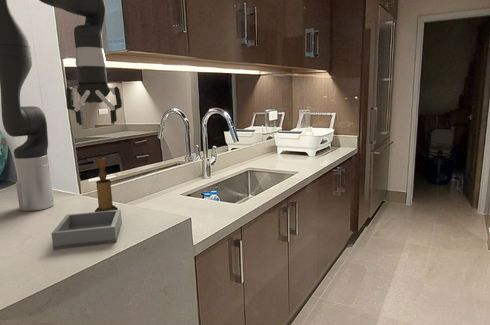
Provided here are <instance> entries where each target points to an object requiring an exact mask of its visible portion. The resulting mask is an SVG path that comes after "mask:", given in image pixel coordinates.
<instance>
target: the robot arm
mask: <svg viewBox="0 0 490 325" xmlns="http://www.w3.org/2000/svg"><path fill="white" fill-rule="evenodd" d="M38 1H40V2H41V3H43V4H46V5H47V6H50V7H54V8H56V9H60V10H63V11H65V12H68V13H70V14H73V15H77V16H81V17H84V18H85V21H84V24H78V25H76V26H75V27H74V29H73V38H74V46H75V66H76V74H77V82H78V86H77V87H76V88H75V87H70V86H68V87H66V90H65V91H66V92H65V94H66V95H65V96H66V108H67V109H68V110H71V111H74V114H75V122H76V123H77V124H78V126H84V119H83V118H84V117H83V111H82V110H83V109H84V108H83V107H84V106H85V105H86V103H89V104H93V103H97V104H98V103H100V104H101V103H103V104H105V105H106V106H107V107H108V108H109V109H110V110H109V113H110V124H111V125H114V124H116V122H118V118H117V110H119V109H122V108H123V102H122V95H121V88H120V87H119V86H115V87H109V85H108V76H107V65H106V55H105V52H104V44H103V29H104V23H105V17H106V12H107V11H106V3H105V0H38ZM32 67H33V59H32V51H31V44H30V40H29V37H28V36H27V35H26V33H25V32H24V30H23V28H22V27H21V25H20V24H19V22H17V20H16V19H15V17H14V15H13V13H12V12H11V8H10V6H9V2H8V0H0V107H1V121H2V125H3V129H4V131H5V132H6V134H7V135H8V136H10V137H15V138H16V137H26V136H27V137H26V140H25V142H24V143H22V144H21V145H19V146H17V147H15V149H14V150H13V155H14V161H15V169H16V175H17V181H16V182H15V188H16V194H17V201H18V209H19V211H25V212H30V211H31V212H33V211H39V210H45V209H49V208H51V207H54V205H55V201H54V193H53V187H52V186H53V185H52V179H51V178H52V177H51V171H50V162H49V156H48V155H49V154H48V148H49V137H48V136H49V135H48V124H47V123H48V122H47V117H46V114H45V112H44V111H43V110H42V108H40V107H39V106H35V105H34V106H33V105H32V106H31V105H30V106H22V105H21V90H22V87H23V85H24V84H25V80H26V79H27V77H28V75H29V73H30V71H31V69H32ZM76 93H78V94H79V95H80V99H79V100H78V102H77V104H76V105H75V104H74V102H75V101H74V96H76ZM110 93H111V94H112V95H113V96H115V102H116V103H115V104H114V103H112V101H111V100H110V99H109V98H108V95H109V94H110Z"/></svg>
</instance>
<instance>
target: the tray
mask: <svg viewBox="0 0 490 325" xmlns="http://www.w3.org/2000/svg"><path fill="white" fill-rule="evenodd" d="M121 210H122V209H118V210H110V211H100V212H95V211H93V212H91V211H90V212H81V213H69V214H66V215H65V216H64V217H63V218H62V219H61V221H60V222H59V223H58V225H57V226H56V227H55V228H54V230H52V232H51V240H52V247H53V248H52V249H53V250H60V249H68V248H77V247H86V246H87V247H88V246H95V245H103V244H104V245H105V244H112V243H116V242H117V240H118V236H119V234H120V231H121V228H122V227H121V226H122V223H123V219H122V211H121Z"/></svg>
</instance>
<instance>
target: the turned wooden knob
mask: <svg viewBox="0 0 490 325" xmlns="http://www.w3.org/2000/svg"><path fill="white" fill-rule="evenodd" d="M95 165H96V167H97V168H98V170H99V172H98V177H99V179H98V180H97V181H96V192H97V193H96V194H97V202H98V207H97V208H96V209H95V210H94V212H100V211H110V210H119V209H118V208H119V207H117V206H116V205H113V197H112V196H113V194H112V185H111V182H112V181H111V179H107V175H108V174H107V172H106V167H107V165H108V161H107V159H106V158H104V157H99V158H97V159H96V160H95Z"/></svg>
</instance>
